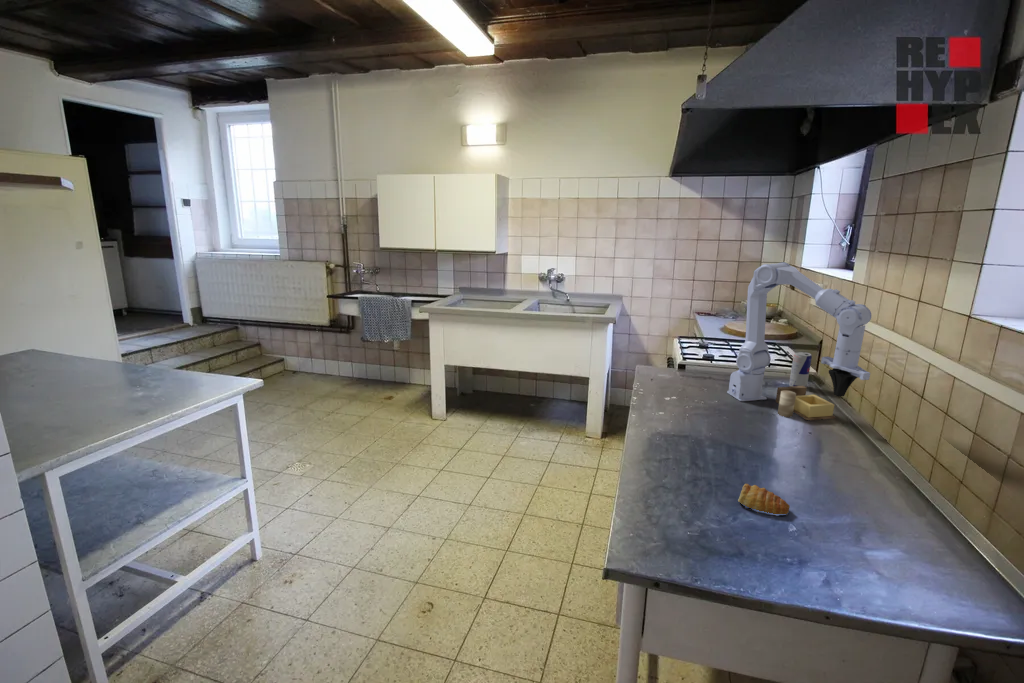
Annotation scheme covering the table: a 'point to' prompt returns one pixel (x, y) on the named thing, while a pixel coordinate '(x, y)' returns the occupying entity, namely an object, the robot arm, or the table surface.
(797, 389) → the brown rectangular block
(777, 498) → the pastry
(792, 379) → the energy drink
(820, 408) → the socket block
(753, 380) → the robot arm
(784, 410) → the birch dowel
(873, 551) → the table surface
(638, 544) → the table surface
